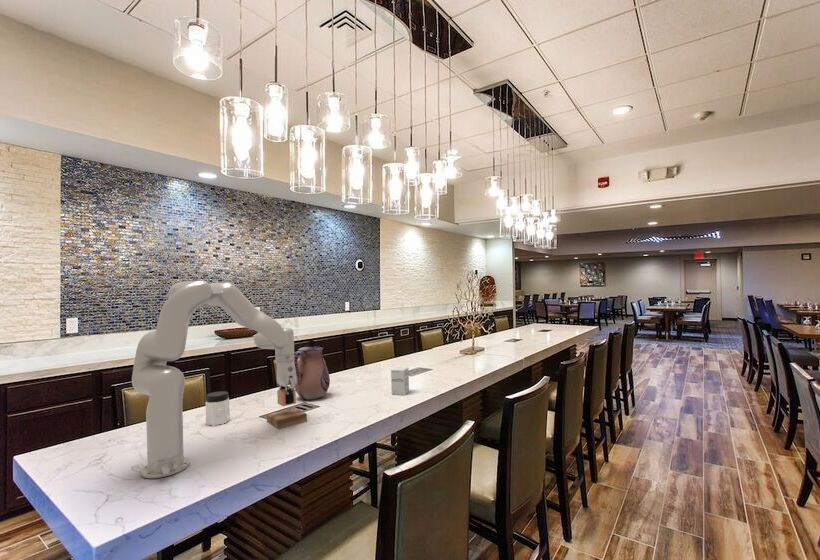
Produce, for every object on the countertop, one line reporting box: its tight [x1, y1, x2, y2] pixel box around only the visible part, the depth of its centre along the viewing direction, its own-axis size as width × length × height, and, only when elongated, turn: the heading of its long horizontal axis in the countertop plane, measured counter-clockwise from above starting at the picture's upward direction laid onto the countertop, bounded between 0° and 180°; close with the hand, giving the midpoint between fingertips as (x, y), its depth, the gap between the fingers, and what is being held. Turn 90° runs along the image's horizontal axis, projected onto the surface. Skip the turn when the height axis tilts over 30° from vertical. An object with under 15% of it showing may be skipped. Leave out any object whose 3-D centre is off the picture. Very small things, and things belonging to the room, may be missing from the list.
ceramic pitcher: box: [294, 346, 331, 401], centre depth 194 cm, size 18×21×25 cm
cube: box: [276, 388, 297, 407], centre depth 161 cm, size 6×6×6 cm
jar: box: [205, 390, 231, 427], centre depth 163 cm, size 9×8×12 cm
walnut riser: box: [266, 407, 308, 429], centre depth 160 cm, size 12×12×3 cm
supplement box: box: [390, 366, 410, 396], centre depth 197 cm, size 7×7×13 cm
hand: (286, 401), depth 161 cm, fingers closed on cube, 5 cm apart
